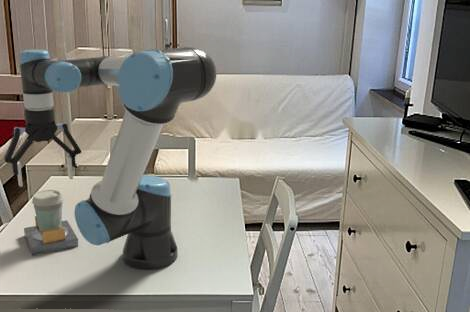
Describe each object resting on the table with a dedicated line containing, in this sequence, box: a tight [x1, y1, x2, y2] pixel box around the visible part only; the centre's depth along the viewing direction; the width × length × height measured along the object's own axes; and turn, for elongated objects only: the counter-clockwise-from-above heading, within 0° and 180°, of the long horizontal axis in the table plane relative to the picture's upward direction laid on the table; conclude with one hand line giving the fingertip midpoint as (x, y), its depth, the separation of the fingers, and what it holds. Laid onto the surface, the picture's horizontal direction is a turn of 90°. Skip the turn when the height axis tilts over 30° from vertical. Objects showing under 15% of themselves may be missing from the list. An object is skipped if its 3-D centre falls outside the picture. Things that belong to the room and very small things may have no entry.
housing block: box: [23, 215, 79, 256], centre depth 152 cm, size 14×13×6 cm
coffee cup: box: [31, 189, 64, 235], centre depth 150 cm, size 8×9×12 cm
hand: (46, 181), depth 147 cm, fingers open, 13 cm apart
